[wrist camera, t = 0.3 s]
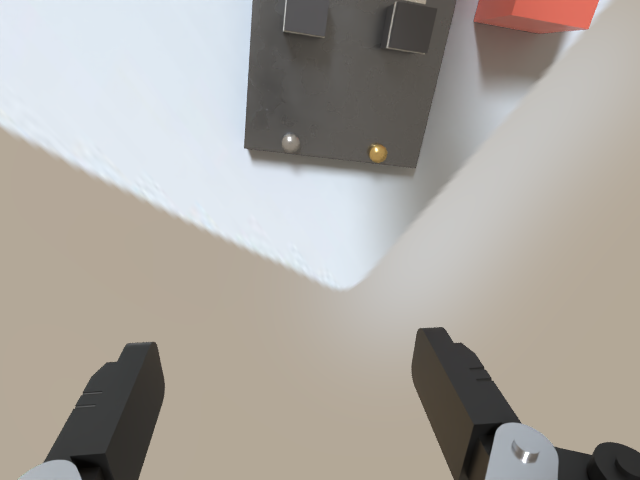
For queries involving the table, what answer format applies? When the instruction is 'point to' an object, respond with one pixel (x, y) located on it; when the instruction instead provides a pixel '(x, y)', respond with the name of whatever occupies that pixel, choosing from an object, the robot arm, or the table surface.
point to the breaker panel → (341, 85)
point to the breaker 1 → (306, 17)
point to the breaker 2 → (408, 28)
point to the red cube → (537, 14)
